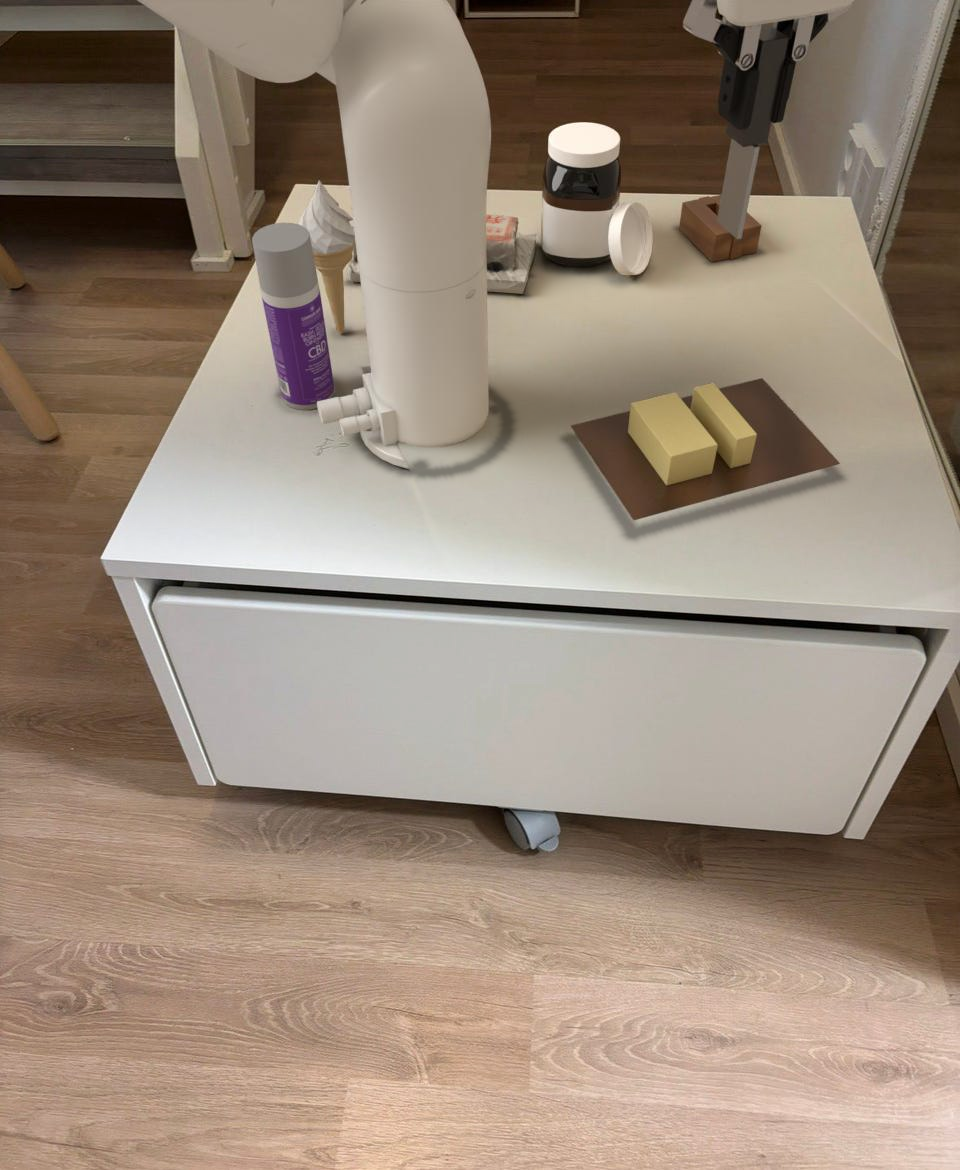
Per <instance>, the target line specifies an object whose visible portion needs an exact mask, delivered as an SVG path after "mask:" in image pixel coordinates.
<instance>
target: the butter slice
mask: <svg viewBox="0 0 960 1170" xmlns="http://www.w3.org/2000/svg"><path fill="white" fill-rule="evenodd" d="M719 389H720V388H718V386H717V385H716V384H715V383H714V382H711V383H707V384H703V385H699V386H695V387H694V388H693V392H692V395H693V397H692V403H691V409H690V411H691V412H692V413H693V414H694V416H695V417H696V418H697V419H698V421H699V422H700V423H701V424H702V425H703V427H704V428H705V429H706V430H707V432H708V433H709V434H710V435H711V437H712V438H713V439H714V440H715V442H716V443H717V444H718V446H717V452H718V453H719V454H720V456H721V457H722V458H723V459H724V461H725V462H726V463H727V464H728V466H729V467H730V468H734V467H738V466H742V465H745V464H749V463H750V462H751V458H752V454H753V449H754V445H755V441H756V437H757V433H756V432H755V431H754V430H753V429H752V428H751V426H750V425H749V424H748V423H747V422H746V421H745V419H744V418H743V417H742V416H741V415H740V414H739V412H738V411H737V410H736V409H735V408H734V407H733V405H732V404H731V403H730V402H729V401H728V400H727V398H726V397H725V396H724V395H723V394H722V392H721V391H720V390H719Z"/></svg>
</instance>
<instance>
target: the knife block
mask: <svg viewBox="0 0 960 1170" xmlns="http://www.w3.org/2000/svg"><path fill="white" fill-rule="evenodd" d="M721 195H722V194H717V195H713V196H709V195H707V196H702V197H698V198H697V199H692V200H688V201H683V202H682V203H681V210H680V219H679V226H678V230H679V231H680V232H681V233H682V234H683V235H684V236H685V237H686V238H687V240H689V241H690V242H691V243H692V244H693V246H695V247H696V248H697V249H698V250H699V251H700V252H701V253H702V254H703V255H704V256H705V257H706V258H707V259H708V260H709V261H710V262H711V263H715V262H719V261H724V260H728V259H729V260H734V259H738V258H741V256H746V255H747V256H748V255H752V254H756V253H757V251H758V246H759V242H760V236H761V231H762V227H763V225H762V224H761V223H759V222H758V220H756V218H754V217H753V216H752V215H751V214H750V213H749V212H747V213H746V218H745V223H744V228H743V233H742V238H741V239H736V238H735V237H734V236H733V235H732V234H731V233H730V232H729V231H727V230H726V229H725V228H724V227H723V226H722V225H721V224H720V223H719V222H717V217H718V212H719V206H720V201H721Z"/></svg>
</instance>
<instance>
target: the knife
mask: <svg viewBox="0 0 960 1170" xmlns="http://www.w3.org/2000/svg"><path fill="white" fill-rule="evenodd" d="M772 26H773V25H770V24H765V25H762V26H761V31H760V36H759V42H758V47H757V52H756V58H755V62H754V64H753V66H754V67H755V68H757V69H758V70H759V72H760V76H759V81H758V86H757V92H756V97H755V102H754V107H753V113H752V118H751V123H750V126H748V128H747V129H742V130H738V129H737V128H736V127H734V126H733V125H732V124H730V123H729V122H728V121H727V124H726V130H725V135H727V136H728V137H729V138H731V140H730V145H729V150H728V157H727V162H726V167H725V173H724V178H723V185H722V189H721V190H722V191H721V194H720V195H721V201H720V206H719V212H718V217H717V222H719V223H720V224H721V225H722V226H723V227H724V228H725V229H726V230H727V231H729V232H730V233H731V234H732V235H733V236H734V237H735V238H736V239H741V238H742V233H743V228H744V223H745V218H746V213H748V207H749V203H750V198H751V193H752V187H753V183H754V177H755V173H756V168H757V162H758V158H759V153H760V149H761V148H760V147H761V146H759V145H763V144H767V143H768V141H769V138H770V137H769V136H770V131H771V127H772V122H771V119H772V114H773V109H774V104H775V99H776V94H777V89H778V85H779V80H780V75H781V70H782V65H783V64H784V59H785V54H786V49H787V44H788V39H789V37H788V36H786V35H784V34H783V33H781V32H780V31H778V30H776V29H775V28H773V27H772Z"/></svg>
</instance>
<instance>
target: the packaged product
mask: <svg viewBox="0 0 960 1170" xmlns="http://www.w3.org/2000/svg"><path fill="white" fill-rule="evenodd" d="M518 225H519V218H518V217H516V216H511V215H499V214H487V213H486V254H487V292H494V293H508V294H521V295H523V294H524V292H525V289H526V287H527V283H528V280H529V275H530V270H531V267H532V264H533V260H534V257H535V254H536V245H537V235H538V234H537V233H528V234H524V233H519V232H518V228H519V226H518ZM352 255H353V257H352V260H351V261H350V262H349V265H348V268H347V274H346V275H347V277H348V280H349V282H357V283H361V280H360V272H359V265H358V259H357V250H356V244H355V245H354V247H353V252H352Z"/></svg>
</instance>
